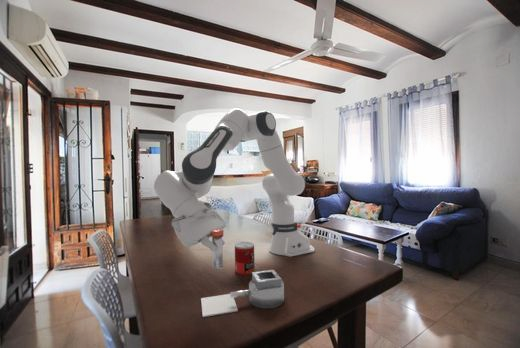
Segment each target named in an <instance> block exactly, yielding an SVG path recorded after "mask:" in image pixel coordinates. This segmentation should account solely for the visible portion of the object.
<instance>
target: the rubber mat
mask: <svg viewBox="0 0 520 348" xmlns="http://www.w3.org/2000/svg"><path fill="white" fill-rule="evenodd" d="M200 301H201V303H200V304H201V312H202V313H201V314H202V318H207V317H211V316H213V317H214V316H217V315H218V316H219V315H224V314H229V313H230V314H231V313H236V312H238V311H239V310H238V306H237V304H236V300H235V297H234V298H230V293H227V294H219V295H214V296H207V297H201V298H200Z"/></svg>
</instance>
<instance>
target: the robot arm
mask: <svg viewBox="0 0 520 348" xmlns="http://www.w3.org/2000/svg"><path fill="white" fill-rule="evenodd" d="M275 118H276V117H275V116H274V115H273V114H272V113H271V112H270V111H269V110H260V111H258V112H254V113H250V114H247V113H246V112H245V111H244V110H242V109H240V108H233V109H231V110H229V112H227V113H226V114H225V115H224V116H223V117H222V118H221V119H220V120H219V122H218V123H217V125H216V126H215V128H214V129H213V131H212V132H211V133H210V135H208V137H207V138H206V139H205V140H204V142H203V143H202V144H201V145H200V146H199V147H198V148H196V149H194V150H193V151H191V152H189V153H187V155H185V157H184V158H183V160H182V163H181V169H182V170H179V171H175V170H174V171H173V170H164V171H163V172H161V173H160V174H159V175H158V176H157V177H156V178H155V181H154V184H153V190H154V192H155V193H156V195H157V196H158V198H159V200H160V201H161V202H162V203H163V205H164V206H165V207H166V208H167V209H169V210H170V212H171V214H172V216H173V217H174V218H172V221H171V226H172V227H173V230H174V233H175V235H176V236H177V238H178V239H179V241H180V242H181V244H182V245H183V246H184V247H185V248H188V249H189V248H192V247H193V246H196V245H198V244H199V243H201V245H202V246H204V247H206V248H209V250H210V252H213V251H215V250H216V249H217V248H218V246H217V245H216V243H213V242H212V241H211V240H210V238H212V237H211V231H212V230H216V229H221V230H223V231H224V229H225V228H226V227H227V223H226V221H225V219H224V218H223V217H222V216H221V215H220V213H218V211H217V210H216V209H214V205H213V204H212V203H210V202H206V201H202V200H199V199H200V198H203V197H204V196H206V195H207V194H208V193H209V192H210V191H211V188H212V184H213V179H214V175H215V171H216V170H217V169H216V168H217V159H218V158H219V157H220V155H221V154H222V152H223V151H225V152H228V151H233V150H234V149H235V148H236V147H238V145H239V144H240V143H245V142H249V141H255V140H256V142H257V146H258V150H259V153H260V156H261V159H262V162H263V164H264V167H265V168H266V169H268V170H269V171H270V172H271V173H269V174H266V175H265V176H264V177H263V179H262V182H261V183H262V188H263V190H264V191H265V192H266V194H267V196H268V200H269V203H270V207H271V225H270V231H271V241H270V246H269V249H268V251H269V252H270V253H272V254H273V255H279V256H285V257H290V258H292V257H295V256H300V255H305V254H309V253H314V252H315V247H314V246H313V245H311V243H310V240H309V237H308V236H307V235H305V234H304V233H303V232H302V231H301V230H299V229H301V227H302V224H300V223H296V221H295V208H294V205H293V204H292V203H291V202H290V200H289V198H288V197H289V196H290V197H293V196H298V195H301V194H302V193H303V192H304V190H305V187H306V182H305V179H304V177H303V176H302V175H301V174H299V173H298V172H296V170H295V169H294V168H293V166H292V165H291V164H290V162H289V161H288V158H287V156H286V154H285V151H284V147H283V144H282V141H281V138H280V135H279V134H278V132H277V130H276V127H277V121H276V119H275ZM225 243H226V242H225V240H224V239H223V238H222V247H224V245H225Z"/></svg>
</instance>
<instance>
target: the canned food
mask: <svg viewBox="0 0 520 348" xmlns="http://www.w3.org/2000/svg"><path fill="white" fill-rule="evenodd" d="M234 266H235V267H234V268H235V269H234V270H235V273H236V274H238V275H240V276H249V275H252V272H255V244H254V243H253V242H249V241H240V242H236V243H235V244H234Z"/></svg>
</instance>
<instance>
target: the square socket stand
mask: <svg viewBox="0 0 520 348" xmlns="http://www.w3.org/2000/svg"><path fill="white" fill-rule="evenodd" d="M251 275H252V276H251V280H250V281H249V283H248V289H243V290H237V291H230V292H229V294H230V298H234V299H235V298H239V297H247V296H248V297H249V299H248V300H249V303H250V305H252V306H253V307H256V308H258V309H265V310H269V309H275V308H278V307H280V306H282V305H283V304H284V301H285V283H284V281H283V279H282V278H281V277H280V275H279V274H278V273H277V272H276V270H274V269H268V270H262V271H261V270H260V271H254V272H252V274H251Z"/></svg>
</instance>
